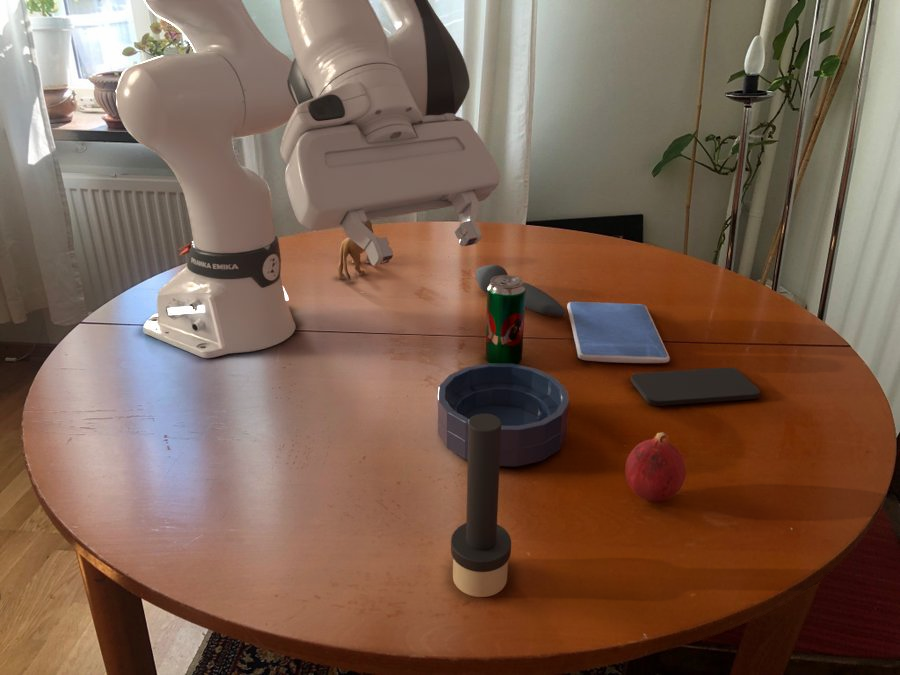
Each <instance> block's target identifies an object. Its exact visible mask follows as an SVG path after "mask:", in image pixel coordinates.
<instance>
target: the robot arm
mask: <svg viewBox="0 0 900 675" xmlns="http://www.w3.org/2000/svg"><path fill="white" fill-rule="evenodd" d="M143 1H144V3H145V4H146V6H147V8H148V9H149V11H151V12H152V13H153V14H154V15H155V16H156V17H158V18H160V19H162V20H163V21H166V22H167V23H169V24H171V25H172V26H174V27H175V28H176V29H177V30H178V31H179V32H180V33H182V35H183V36H184V37H185V39H186V40H187V41H188V42H189V44H190V46H191V47H192V49H193V52H190V53H180V54H179V53H178V54H166V55H165V54H164V55H159V56H156V57H153V58H151V59H147V60H145V61H142V62H140V63H136V64H134V65H132V66H131V65H130V66H129V67H127V68H125V70H124V71H123V72H122V73H121V75H120V78H119V80H118V83H117V87H116V90H115V101H116V102H115V104H116V109H117V113H118V116H119V118H120V121H121V123H122V125H123V126H124V128H125V129H126V131H127V132H128V134H130V135H131V137H132V138H133V139H134V140H136V141H137V142H138V143H139V144H140V145H142V146H144V147H145V148H147V149H149V150H151V151H153V152H154V153H155V154H156V155H158V156H159V157H160V158H161V159H162V160H163V161H164V162H165V163H166V164H167V165H168V167H169V168H170V169H171V170H172V172H173V173H174V175H175V177H176V180H177V181H178V183H179V185H180V187H181V190H182V193H183V196H184V200H185V204H186V208H187V213H188V218H189V223H190V228H191V235H192V241H190V242H189V243H188V244H185V245H184V246H181V247H179V248H178V250H182V251H181V252H180V253H179V256H185V255H186V254H188V256H187V262H186V266H185V267H184V268H182V269H181V270H180V271H179V272H178V273H176V275H174V276H173V277H171V279H169V280H167V282H166V283H165V284H163V285H162V287H160V289H159V291H158V293H157V297H156V298H157V299H156V310H157V312H156V313H154V314H153V315H152V316H150V317H149V318H148V319H147V320H146V321H145V322H144V324H143V326H142V332H143V334H146V335H147V336H150V337H151V338H155V339H157V340H159V341H162V342H163V343H164V342H165V343H167V344H169V345H171V346H174V347H176V348H178V349H181V350H183V351H185V352H188V353H190V354H192V355H196V356H198V357H200V358H203V359H211V358H217V357H220V356H225V355H228V354H238V353H250V352H256V351H260V350H264V349H268V348H271V347H274V346H276V345H278V344H281V343H283V342H285V341H286V340H288V339H289V338H290V337H291V336H293V334H294V333H295V331H296V328H297V326H296V323H295V320H294V318H293V316H292V313H291V311H290V308H289V303H288V301H289V295H288V294H287V291H286V290H285V287H284V286H283V281H282V277H281V271H282V270H281V269H282V267H281V265H282V259H281V258H282V257H281V248H280V243H279V237H278V236H277V235H276V232H275V222H274V212H273V203H272V194H271V189H270V186H269V184H268V183H267V181H266V180H265V178H264V177H262V176H261V175H260V174H259V173H257V172H255V171H254V170H252V169H249V168H248V167H245V166H243V165H241V164H240V162H239V160H238V158H237V155H236V152H235V149H234V144H233V143H234V140H236V139H242V138H246V137H251V136H256V135H262V134H268V133H270V132H273V131H274V130H277V129H279V128H281V127H283V126H285V125H286V126H285V129H284V131H283V135H282V138H281V142H280V148H279V151H280V152H279V153H280V155H281V158H282V159H283V161H284V163H285V164H287V165H286V169H285V172H284V182H285V186H286V190H287V194H288V198H289V201H290V204H291V208H292V210H293V213H294V216H295V218H296V220H297V222H298V223H299V224H300V225H301V226H303V227H304V228H305V229H307V230H309V231H312V232H314V231H319V230H325V229H331V228H337V227H342V229H343V232H344V234H345V235H346V237H347V238H350V239H351V240H353V241H354V242H355V243H356V244H357V245H359V246H360V247H361V248H362V249H364V250H365V251H364V252H365V254H366V253H367V255H368V258H369V260H370V262H371V263H370V265H371V266H373V267H374V266H375V267H376V266H379V265H380V266H381V265H384V264H388V263H389V262H390V260H392V259H393V256H394V252H393V249H392V247H391V246H390V242H389V239H388V237H387V236H386V237H380V238H379V237H378V236H377V235H376V234H375V233H374V232H373V233H372V232H371V231H370V230H369V229H368V228H367V227H366V226H365V225H364V224H365V223H366V221H370V222H371V221H377V220H381V219H388V218H393V217H398V216H404V215H410V214H414V213H415V214H416V213H420V212H427V211H431V210H437V209H444V208H450V207H452V208H453V210H454V212H455V214H456V215H461V224H460V225H459V227H457V228H456V229H455V231H454V234H455V236H456V238H457V239H458V240H459V241H458V242H459V245H460V246H461V247H468V246H473V245H476V244H478V243H479V241H481V239H482V238H483V237H482V235H483V234H482V232H481V229H480V227H479V225H478V223H477V219H478V218H477V216H478V208H479V202H483V201H485V200H486V199H487V198H488V197H489V196H490V195H491V194H492V193H493V192H495V190H496V188H497V187H498V185H499V183H500V181H501V180H500V179H501V171H500V168H499V167H498V165H497V163H496V161H495V159H494V157H493V156H492V154H491V152H490V150H489V149H488V148H487V146H486V145H485V143H484V141H483V139H482V138H481V137H480V135H479V134H478V133H477V131H476V130H475V129H474V127H473V125H472V124H471V122H470V121H469V120H468V119H464V118H462V117H460V116H457V115H456V114H457V113H458V111H460V108H461V107H462V105H463V103H464V101H465V100H466V98H467V95H468V92H469V90H470V87H471V86H470V85H471V83H470V75H469V71H468V67H467V63H466V60H465V58H464V55H463V54H462V51H461V50H460V48H459V47H458V45H457V43H456V41H455V40H454V38H453V36H452V35H451V33H450V32H449V30H448V29H447V27H446V26H445V25H444V23H443V21H442V20H441V19H440V17H439V16H438V14H437V12H436V11H435V10H434V8H433V6H432V5H431V2H430V1H429V0H378V1H379V3H380V5H381V6H382V9H383V10H384V12H385V13H386V15H387V17H388V20H389V21H390V23H391V24H392V27H393V28H394V29H395V33H394V34H393V35H391V36H388V35H387V34H386V32H385V29H384V27H383V25H382V22H381V21H380V19H379V17H378V14H377V13H376V11H375V8H374V7H373V5H372V4H371V2H370V0H279V6H280V11H281V15H282V20H283V24H284V28H285V31H286V35H287V38H288V41H289V44H290V48H291V51H292V53H293V56H294V59H293V60H291V58H290V57H288V56H287V55H286V54H285V53H283V52H281V51H280V50H279V49H277V48H276V47H275V46H274V45H273V44H272V43H271V42H270V41H269V40H268V38H266V37H265V35H264V34H263V33H262V31H261V29H259V27H258V25H256V23H255V22H254V20H253V19H252V17H251V15H250V14H249V12H248V10H247V8H246V6H245V4H244V2H243V0H143Z"/></svg>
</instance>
